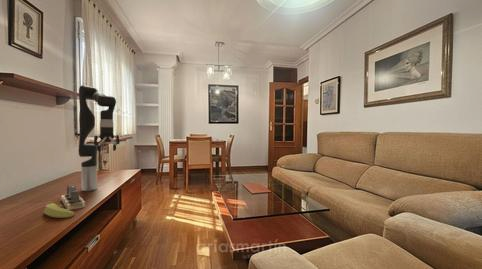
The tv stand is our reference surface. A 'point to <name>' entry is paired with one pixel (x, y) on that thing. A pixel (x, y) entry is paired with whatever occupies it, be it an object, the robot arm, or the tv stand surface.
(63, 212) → the banana
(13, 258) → the tv stand surface
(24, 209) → the tv stand surface
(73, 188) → the peg
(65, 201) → the pin board
